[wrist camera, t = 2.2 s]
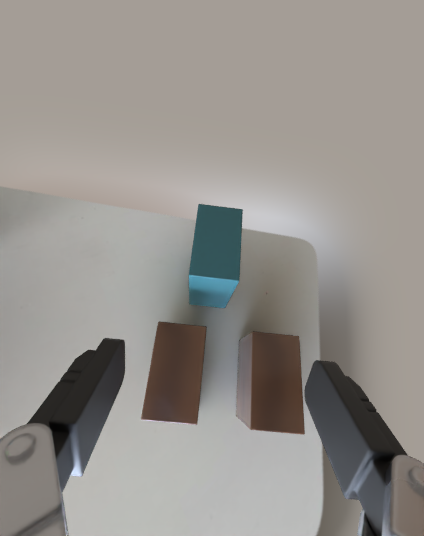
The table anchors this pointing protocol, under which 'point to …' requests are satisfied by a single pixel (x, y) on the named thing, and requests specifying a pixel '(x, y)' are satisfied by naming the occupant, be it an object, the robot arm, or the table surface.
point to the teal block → (215, 256)
